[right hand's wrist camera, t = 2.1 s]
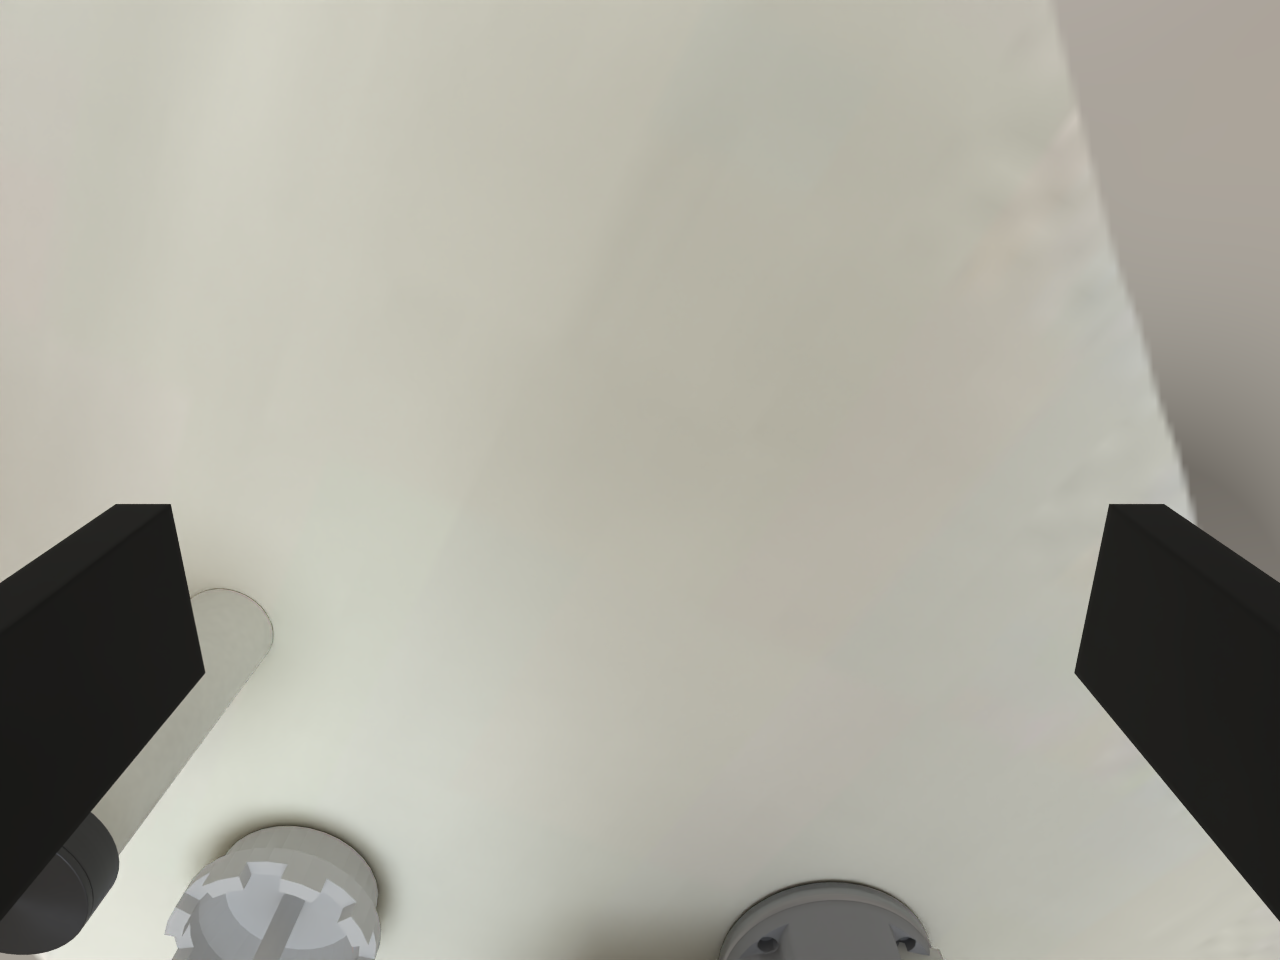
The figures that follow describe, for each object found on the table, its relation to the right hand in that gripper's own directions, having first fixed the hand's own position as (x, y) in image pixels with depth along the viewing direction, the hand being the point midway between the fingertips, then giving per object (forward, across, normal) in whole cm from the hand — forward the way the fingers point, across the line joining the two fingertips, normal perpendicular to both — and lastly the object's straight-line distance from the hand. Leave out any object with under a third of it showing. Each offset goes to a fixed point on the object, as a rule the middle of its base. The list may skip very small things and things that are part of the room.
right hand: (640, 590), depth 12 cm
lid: (+16, +25, +22) cm, 37 cm away
